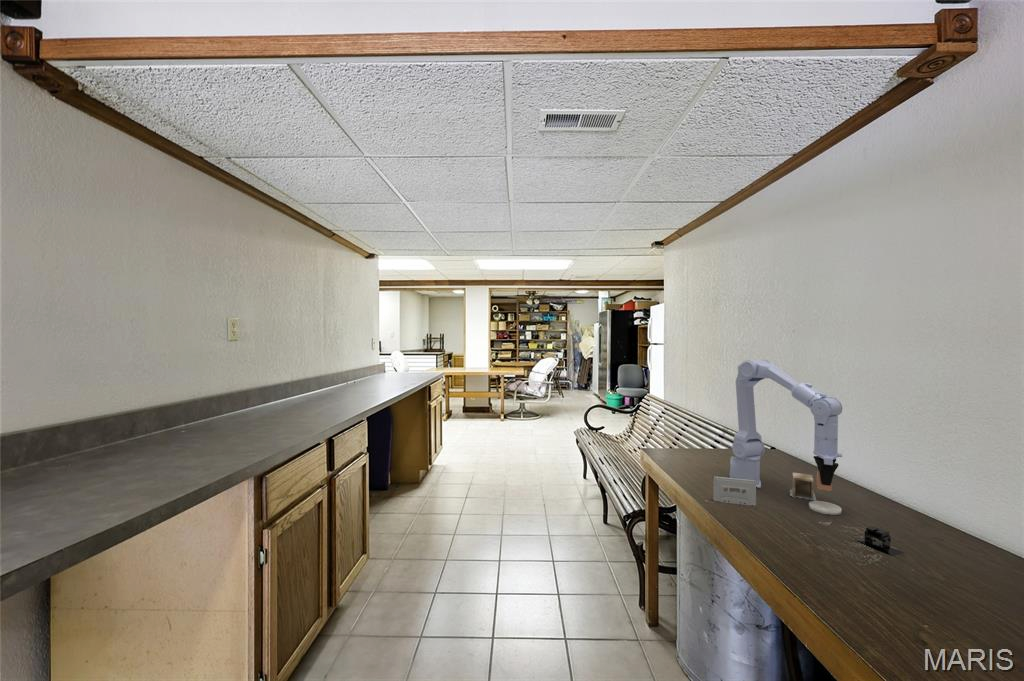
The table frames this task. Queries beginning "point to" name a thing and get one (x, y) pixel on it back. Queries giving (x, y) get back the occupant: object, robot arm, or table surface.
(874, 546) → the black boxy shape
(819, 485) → the block
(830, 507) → the dish
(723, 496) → the cassette
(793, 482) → the beige open box
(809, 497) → the pad
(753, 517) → the table surface
